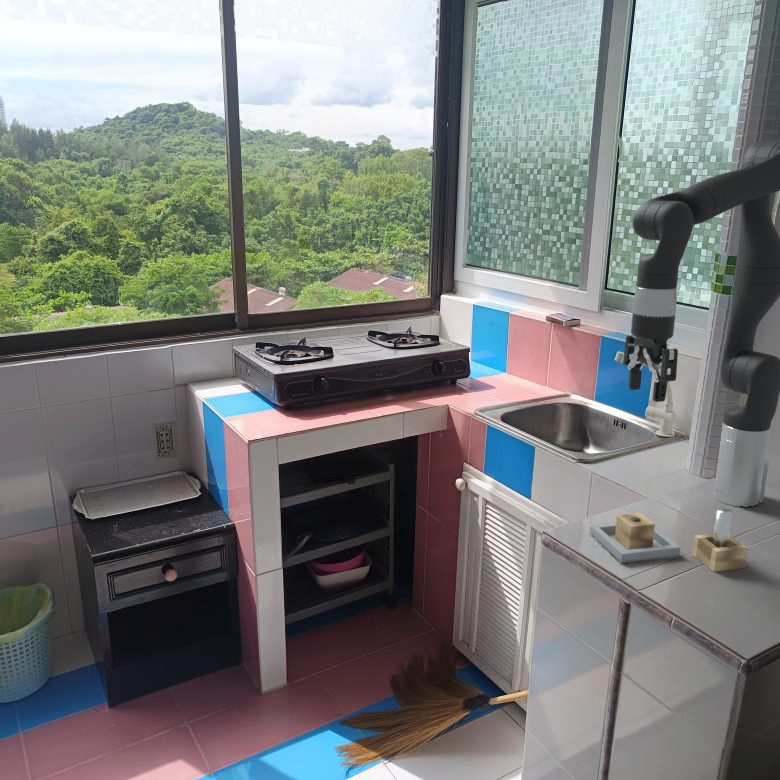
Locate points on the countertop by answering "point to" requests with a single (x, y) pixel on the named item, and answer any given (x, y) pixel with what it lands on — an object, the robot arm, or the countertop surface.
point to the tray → (659, 550)
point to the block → (634, 531)
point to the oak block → (719, 553)
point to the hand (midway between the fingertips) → (646, 395)
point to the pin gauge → (722, 527)
